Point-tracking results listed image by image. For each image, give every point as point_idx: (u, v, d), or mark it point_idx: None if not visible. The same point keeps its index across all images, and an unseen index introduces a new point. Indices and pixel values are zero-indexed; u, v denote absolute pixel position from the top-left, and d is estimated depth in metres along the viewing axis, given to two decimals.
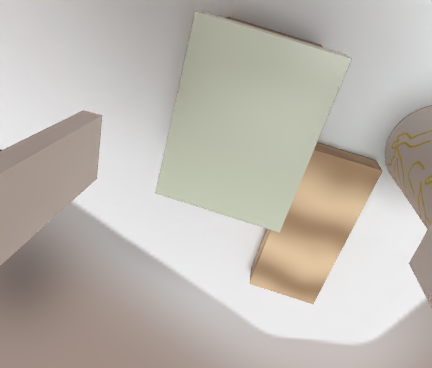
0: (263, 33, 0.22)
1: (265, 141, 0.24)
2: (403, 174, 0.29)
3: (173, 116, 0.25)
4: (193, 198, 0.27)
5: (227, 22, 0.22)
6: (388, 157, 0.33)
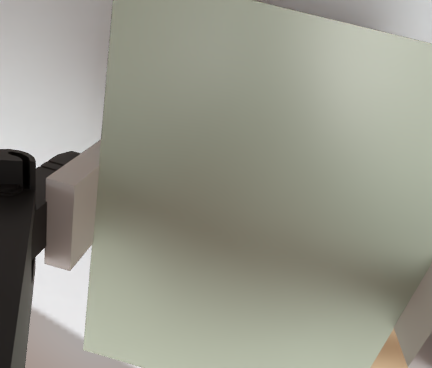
0: (299, 14, 0.08)
1: (305, 264, 0.11)
2: None
3: (97, 213, 0.11)
4: (158, 361, 0.13)
5: None
6: None
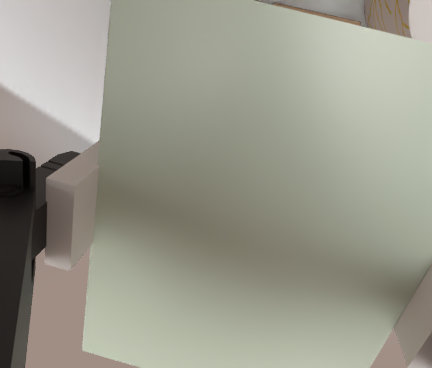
0: (297, 14, 0.08)
1: (305, 264, 0.11)
2: (381, 7, 0.26)
3: (96, 213, 0.11)
4: (157, 362, 0.13)
5: None
6: (367, 10, 0.30)
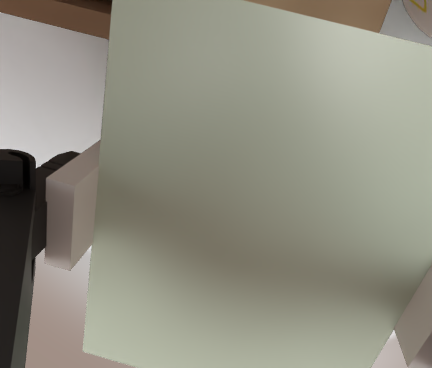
0: (298, 16, 0.08)
1: (305, 265, 0.11)
2: None
3: (97, 215, 0.11)
4: (157, 363, 0.13)
5: None
6: None
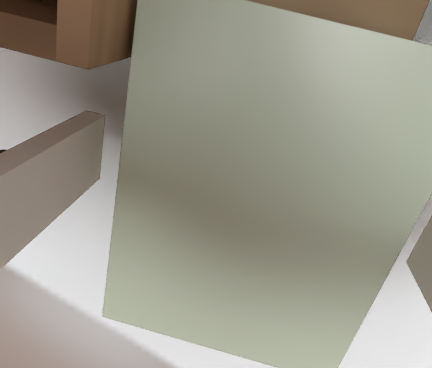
0: (295, 15, 0.10)
1: (301, 233, 0.12)
2: None
3: (119, 189, 0.13)
4: (170, 326, 0.15)
5: None
6: None
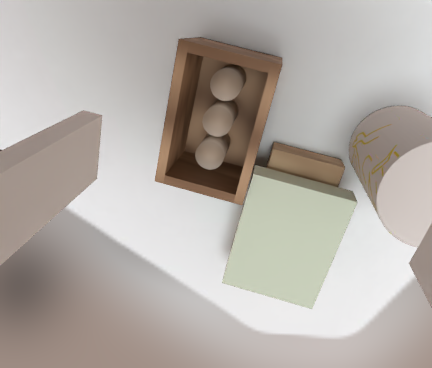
0: (298, 186, 0.33)
1: (300, 250, 0.36)
2: (359, 168, 0.32)
3: (236, 234, 0.36)
4: (249, 286, 0.38)
5: (274, 180, 0.34)
6: (351, 155, 0.36)
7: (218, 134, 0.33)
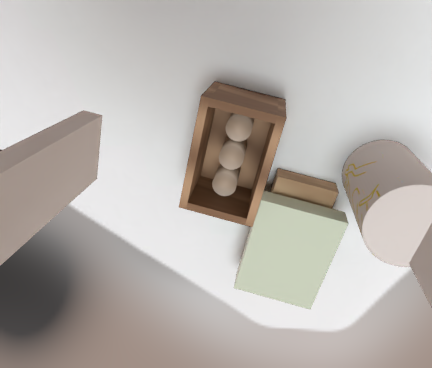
0: (299, 210, 0.40)
1: (300, 261, 0.42)
2: (350, 196, 0.38)
3: (246, 248, 0.43)
4: (257, 291, 0.45)
5: (279, 205, 0.40)
6: (343, 181, 0.42)
7: (232, 168, 0.39)
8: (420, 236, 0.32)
